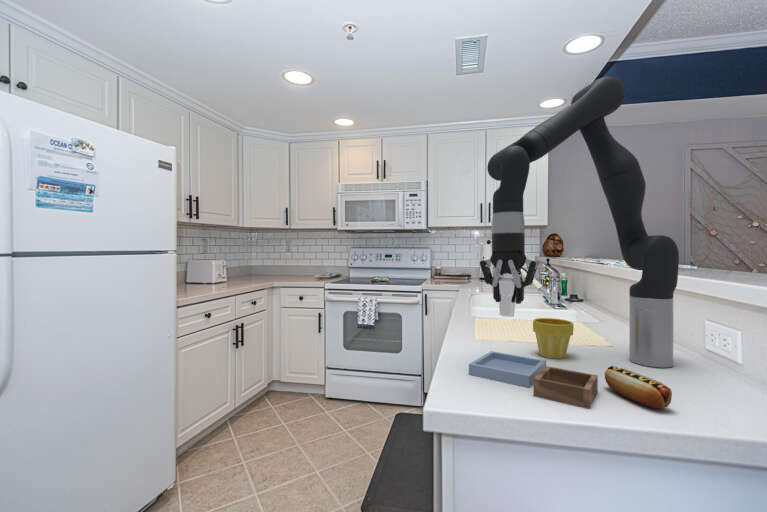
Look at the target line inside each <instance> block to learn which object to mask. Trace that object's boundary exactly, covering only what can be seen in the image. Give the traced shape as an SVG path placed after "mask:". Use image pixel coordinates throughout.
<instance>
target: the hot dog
mask: <svg viewBox="0 0 767 512" xmlns="http://www.w3.org/2000/svg"><path fill="white" fill-rule="evenodd" d="M604 380H605V383H606V385H608V387H609V388H610V389H611V390H613V391H614V392H616V393H617V394H619V395H621V396H623V397H624V398H627V399H628V400H632V401H633V402H635V403H637V404H641V405H643V406H646V407H648V408H652V409H664V408H668V407H669V405H671V402H672V397H673V392H672V389H671V388H670V387H669V386H667V385H666V384H664V383H662V382H660V381H658V380H656V379H653V378H651V377H648V376H646V375H643V374H641V373H638V372H635V371H632V370H629V369H627V368H620V367H617V366H614V365H611V366H610V365H609V366H608V367H607V369H606V370H605V371H604Z"/></svg>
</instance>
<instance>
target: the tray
mask: <svg viewBox="0 0 767 512" xmlns="http://www.w3.org/2000/svg"><path fill="white" fill-rule="evenodd" d="M546 366H547V360H546V359H539V358H534V357H529V356H528V357H527V356H522V355H516V354H510V353H504V352H497V351H489V352H487V353H485V354H484V355H482V356H480V357H478V358H477V359H475V360H473V361H471V362H470V363H468V375H470V376H475V377H478V378H483V379H488V380H492V381H498V382H502V383H507V384H511V385H515V386H519V387H520V386H521V387H524V388H531V387H533V386H534V378H535V377H536V376H537V375H538V374H539V373H540V372H541V371H542V370H543V369H544V368H545V367H546Z"/></svg>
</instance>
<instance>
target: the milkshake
mask: <svg viewBox="0 0 767 512" xmlns="http://www.w3.org/2000/svg"><path fill="white" fill-rule="evenodd" d="M498 285H499V302H498V304H499V306H498V307H499V309H498V310H499V316H501V317H505V318H512V317H514V316H515V309H516V288H517V287H516V283H515V280H514V279H513V278H507V277H506V278H505V277H503V278H502V279H500V280H499V282H498Z"/></svg>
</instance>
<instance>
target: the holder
mask: <svg viewBox="0 0 767 512" xmlns="http://www.w3.org/2000/svg"><path fill="white" fill-rule="evenodd" d="M598 378H599V375H597V374H592V373H586V372H580V371H575V370H568V369H565V368H564V369H563V368H559V367H552V366H547V365H546V367H545V368H544V369H543V370H542V371H541V372H540V373H539V374H538V375H537V376H536V377H535V378H534V384H533V396H534V397H537V398H538V397H539V398H543V399H547V400H551V401H555V402H558V403H563V404H567V405H568V404H569V405H571V406H577V407H581V408H585V409H588V410H589V409H591V407H592V404H593V402H594V401H595V398H596V397H597V394H598V392H599V389H598V387H599V386H598V385H599V384H598V383H599V381H598V380H599V379H598Z"/></svg>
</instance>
